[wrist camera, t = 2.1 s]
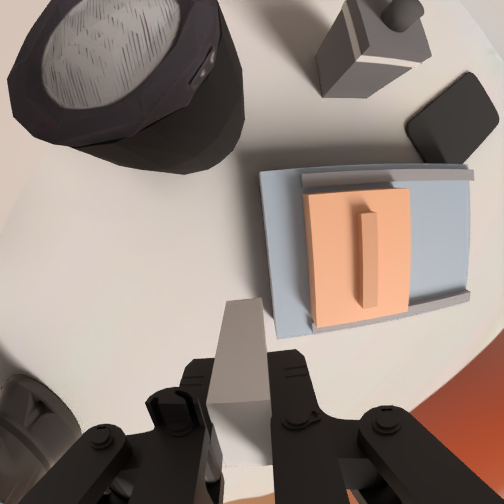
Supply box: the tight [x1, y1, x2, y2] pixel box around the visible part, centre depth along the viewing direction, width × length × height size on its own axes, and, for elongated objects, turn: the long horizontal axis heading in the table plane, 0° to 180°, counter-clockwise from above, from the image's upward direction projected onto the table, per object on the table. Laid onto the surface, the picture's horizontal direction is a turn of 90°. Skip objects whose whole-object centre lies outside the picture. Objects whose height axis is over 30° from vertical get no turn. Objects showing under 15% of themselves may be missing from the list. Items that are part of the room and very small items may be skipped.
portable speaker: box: [7, 0, 245, 175], centre depth 16 cm, size 9×9×20 cm
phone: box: [406, 72, 499, 164], centre depth 25 cm, size 7×1×15 cm
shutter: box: [302, 187, 411, 328], centre depth 22 cm, size 8×10×4 cm
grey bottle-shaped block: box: [315, 0, 432, 98], centre depth 17 cm, size 5×5×14 cm
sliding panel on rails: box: [258, 163, 474, 339], centre depth 25 cm, size 20×14×5 cm
